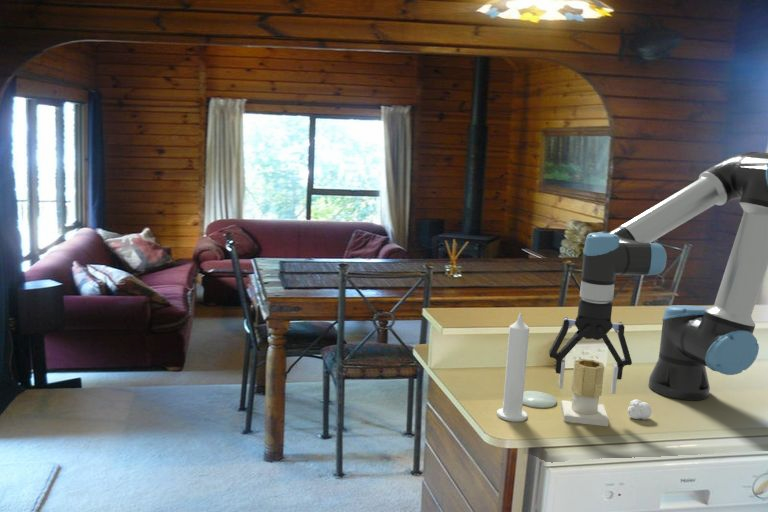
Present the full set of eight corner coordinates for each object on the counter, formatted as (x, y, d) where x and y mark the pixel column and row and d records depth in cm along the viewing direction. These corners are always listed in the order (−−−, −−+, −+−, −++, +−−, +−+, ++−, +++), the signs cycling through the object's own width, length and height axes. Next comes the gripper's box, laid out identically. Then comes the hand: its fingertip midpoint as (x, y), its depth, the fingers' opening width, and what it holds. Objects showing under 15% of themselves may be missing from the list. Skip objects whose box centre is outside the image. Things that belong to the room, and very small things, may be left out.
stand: (602, 410, 181) (607, 369, 179) (608, 426, 171) (612, 383, 170) (561, 405, 183) (565, 365, 181) (563, 421, 173) (568, 378, 171)
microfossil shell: (631, 401, 175) (654, 406, 174) (627, 394, 180) (650, 398, 179) (627, 419, 176) (651, 424, 175) (624, 411, 181) (647, 416, 180)
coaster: (555, 395, 190) (555, 393, 190) (557, 410, 180) (557, 407, 180) (515, 391, 191) (515, 389, 191) (515, 405, 181) (516, 403, 181)
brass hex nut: (599, 388, 179) (601, 360, 177) (602, 398, 172) (605, 369, 171) (570, 385, 180) (573, 358, 178) (573, 395, 173) (576, 366, 172)
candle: (520, 424, 170) (529, 318, 166) (491, 416, 174) (500, 313, 169) (531, 415, 176) (540, 312, 171) (503, 407, 180) (512, 307, 175)
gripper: (646, 300, 174) (635, 389, 178) (543, 291, 177) (535, 378, 181) (652, 308, 166) (641, 400, 170) (544, 298, 170) (536, 389, 174)
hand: (586, 389), depth 176 cm, fingers open, 11 cm apart
